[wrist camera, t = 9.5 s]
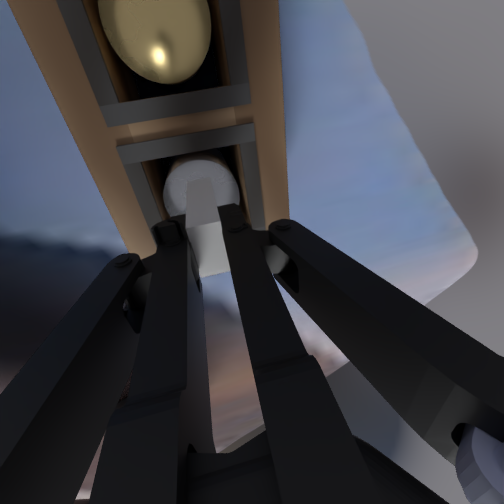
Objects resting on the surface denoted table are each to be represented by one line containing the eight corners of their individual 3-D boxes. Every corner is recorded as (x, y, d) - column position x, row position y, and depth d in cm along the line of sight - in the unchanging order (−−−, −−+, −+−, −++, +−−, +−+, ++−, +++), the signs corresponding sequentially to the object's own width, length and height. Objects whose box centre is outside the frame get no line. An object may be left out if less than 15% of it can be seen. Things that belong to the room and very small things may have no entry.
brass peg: (144, 90, 19) (124, 90, 13) (114, -4, 16) (74, -54, 10) (211, 79, 19) (220, 75, 14) (194, -14, 16) (196, -66, 11)
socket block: (149, 228, 25) (137, 272, 19) (40, -42, 15) (-61, -131, 9) (267, 203, 26) (291, 237, 20) (241, -62, 16) (272, -153, 10)
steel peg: (179, 203, 24) (176, 238, 18) (161, 147, 21) (151, 168, 15) (231, 192, 24) (244, 224, 19) (221, 136, 21) (233, 153, 16)
